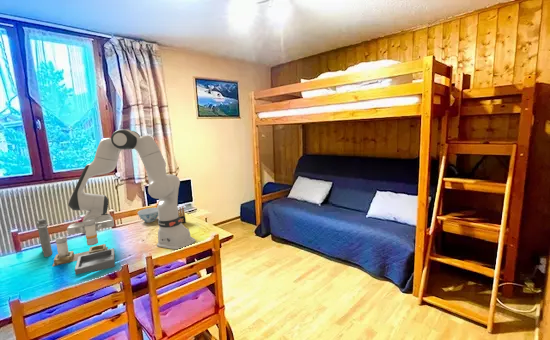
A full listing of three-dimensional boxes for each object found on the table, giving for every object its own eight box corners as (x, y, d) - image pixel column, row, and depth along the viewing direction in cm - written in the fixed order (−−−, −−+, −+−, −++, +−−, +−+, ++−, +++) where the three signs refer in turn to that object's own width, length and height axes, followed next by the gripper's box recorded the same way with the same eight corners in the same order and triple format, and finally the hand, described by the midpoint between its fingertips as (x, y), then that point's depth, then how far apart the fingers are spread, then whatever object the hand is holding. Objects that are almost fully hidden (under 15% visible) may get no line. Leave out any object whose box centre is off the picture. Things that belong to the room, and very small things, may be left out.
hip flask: (42, 250, 163) (35, 217, 159) (50, 247, 166) (44, 215, 162) (44, 259, 151) (37, 223, 148) (54, 256, 154) (47, 221, 151)
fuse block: (108, 248, 161) (107, 242, 160) (107, 255, 152) (106, 249, 152) (56, 260, 149) (54, 253, 149) (52, 268, 141) (51, 261, 140)
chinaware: (163, 221, 203) (162, 210, 201) (140, 226, 194) (139, 215, 193) (158, 215, 215) (157, 206, 214) (137, 220, 207) (136, 210, 205)
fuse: (71, 259, 148) (67, 237, 146) (60, 262, 144) (57, 240, 142) (68, 256, 150) (64, 235, 148) (57, 260, 147) (54, 238, 145)
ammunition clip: (170, 226, 191) (168, 209, 189) (169, 225, 193) (167, 208, 191) (186, 222, 197) (184, 206, 195) (185, 222, 199) (183, 205, 196)
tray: (114, 254, 153) (113, 248, 152) (114, 266, 139) (113, 260, 139) (79, 262, 145) (78, 256, 145) (75, 276, 132) (74, 269, 131)
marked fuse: (99, 242, 141) (96, 219, 139) (89, 246, 137) (86, 222, 135) (95, 240, 144) (92, 218, 141) (85, 244, 140) (81, 221, 138)
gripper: (67, 220, 145) (63, 228, 133) (113, 213, 155) (112, 220, 143) (69, 232, 146) (65, 241, 134) (114, 223, 156) (114, 231, 144)
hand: (90, 230), depth 138 cm, fingers closed on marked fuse, 4 cm apart
